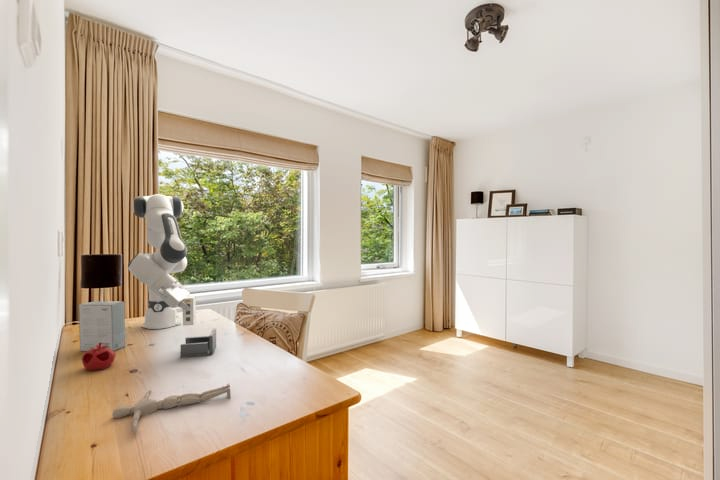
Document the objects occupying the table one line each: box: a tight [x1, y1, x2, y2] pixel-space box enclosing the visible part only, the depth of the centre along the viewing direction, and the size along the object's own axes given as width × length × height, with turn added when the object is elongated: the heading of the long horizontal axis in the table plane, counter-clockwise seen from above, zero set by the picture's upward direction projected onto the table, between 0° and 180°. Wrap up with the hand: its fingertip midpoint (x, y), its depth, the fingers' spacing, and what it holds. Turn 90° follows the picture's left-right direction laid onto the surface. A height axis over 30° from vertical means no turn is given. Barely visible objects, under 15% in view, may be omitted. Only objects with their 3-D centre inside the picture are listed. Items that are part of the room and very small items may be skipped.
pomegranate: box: [81, 342, 116, 371], centre depth 131 cm, size 10×10×9 cm
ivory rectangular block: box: [182, 295, 197, 327], centre depth 145 cm, size 5×4×11 cm
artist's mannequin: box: [111, 383, 232, 435], centre depth 101 cm, size 28×4×30 cm
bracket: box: [179, 328, 217, 358], centre depth 147 cm, size 11×12×8 cm
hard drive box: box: [78, 300, 127, 352], centre depth 152 cm, size 16×8×20 cm, turn 84°
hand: (191, 308), depth 146 cm, fingers closed on ivory rectangular block, 5 cm apart
